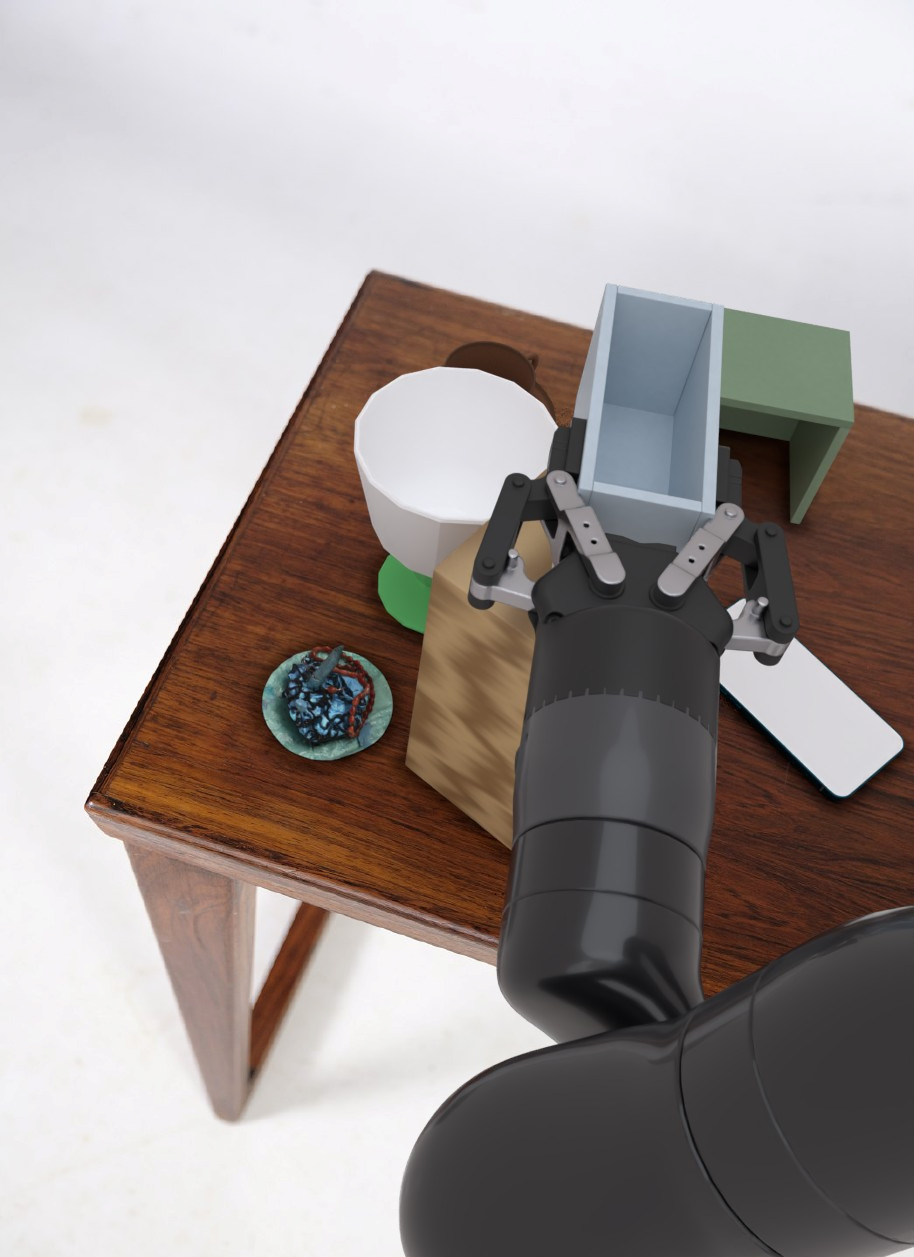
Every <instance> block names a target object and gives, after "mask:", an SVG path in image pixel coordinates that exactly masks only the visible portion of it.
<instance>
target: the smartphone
mask: <svg viewBox="0 0 914 1257" xmlns="http://www.w3.org/2000/svg"><path fill="white" fill-rule="evenodd" d="M745 604H746V599H745V597H741V598H739V599H737V600H736V601H734V602H733V603H732V604H730V605H729V606H727V607H725V608H726V610H727V611H728V612H729V614H730V616H731V618H732V620H735V619H738V617H739V615H740V613H741V611H742V609H743V608H744V606H745ZM719 694H721V695H722V696H723V697H724V698H725V699H726V700H727V701H728V702H729V703H730V704H731V705H732V706H733V707H734V708H735V710H737V711H738V712H739V713H740V714H741V715H742V716H743V717H744V718H745V719H746V720H747V721H748V722H750V724H751V725H752V726H753V727H754V728H755V729H757V731H759V733H760V734H762V735H763V737H765V738H766V739H767V740H768V741H769V742H770V744H772V745H773V747H775V748H776V749H777V751H779V752H780V753H781V754H782V755H783V756H784V757H785V758H786V759H787V760H788V761H789V762H790V763H791V764H792V765H793V766H794V767H795V768H796V769H797V771H799V772H800V773H801V774H803V776H805V778H806V779H808V781H809V782H810V783H811V784H813V786H815V788H817V789H818V790H819V791H820V792H821V794H823V795H824V796H825V797H826V798H827V799H828V800H830V801H831V802H834V803H843V802H846V801H848V800H849V799H850V798H852V796H854V794H855V793H857V792H858V791H859V790H860V789H861V788H863V786H865V785H866V784H867V783H869V782H870V781H871V780H872V779H873V778H874V777H875V776H876V775H878V774H879V773H880V772H881V771H882V770H883V769H884V768H886V767H887V766H888V765H889V764H891V763H892V762H893V761H894V760H895V759H896V758H897V757H899V756H900V754H901V753H902V752H903V751H904V750H905V746H906V745H905V740H904V737H903V736H902V735H901V734H900V733H899V731H897V729H895V728H894V727H893V725H891V724H890V723H889V722H887V720H885V718H883V717H882V716H881V714H879V713H878V712H877V711H876V710H875V709H874V708H873V707H871V705H870V704H868V703H867V702H866V701H865V700H864V699H863V698H862V697H861V696H860V695H859V694H858V693H856V692H855V691H854V690H853V688H851V686H849V685H848V684H847V683H846V682H845V681H843V679H842V678H840V677H839V676H838V675H837V674H836V673H835V671H832V670H831V669H830V668H829V667H828V666H827V665H826V664H825V663H824V662H823V661H822V660H821V659H820V658H818V657H817V655H815V654H814V652H813V651H811V649H809V648H808V647H807V646H806V645H805V644H804V643H803V642H801V641H800V640H799V639H798V638H797V637H796V636H795V637H794V638H793V640H792V642H791V643H790V645H789V647H788V648H787V650H786V652H785V653H784V655H783V657H782V658H781V660H780V661H779V663H778V664H776V665H774V666H765V665H763V664H761V663H759V662H758V661H757V660H756V659H755V657H754V654H753V652H750V651H738V650H726V649H725V651H724V653H723V655H722V656H721V657H720V685H719Z"/></svg>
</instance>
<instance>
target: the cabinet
mask: <svg viewBox="0 0 914 1257" xmlns="http://www.w3.org/2000/svg"><path fill="white" fill-rule="evenodd" d="M851 349H852V347H851V331H850V330H846V329H845V330H844V329H839V328H834V327H829V326H823V325H818V324H813V323H808V322H802V321H796V320H791V319H787V318H781V317H776V316H771V315H764V314H760V313H754V312H749V311H744V310H740V309H739V310H738V309H735V308H734V309H733V308H729V307H724V320H723V343H722V367H721V390H720V413H719V429H723V430H729V431H734V432H739V433H743V434H749V435H755V436H759V437H765V438H770V439H775V440H782V441H786V442H787V441H788V442H789V522H790V523H791V524H797V525H800V524H801V523H802V520H803V519H804V517H805V516H806V513H807V511H808V510H809V508H810V506H811V504H812V502H813V500H814V498H815V497H816V495H817V493H818V491H819V488H820V487H821V485H822V484H823V481H824V479H825V477H826V476H827V474H828V472H829V470H830V468H831V467H832V465H833V463H834V461H835V459H836V458H837V456H838V454H839V452H840V450H841V448H842V447H843V444H844V442H845V441H846V439H847V437H848V435H849V433H850V431H851V429H852V427H853V425H854V424H855V409H854V408H855V407H854V406H855V405H854V388H853V369H852V350H851Z"/></svg>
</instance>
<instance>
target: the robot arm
mask: <svg viewBox="0 0 914 1257" xmlns="http://www.w3.org/2000/svg"><path fill="white" fill-rule="evenodd" d="M586 424H587V419H582V418H577V417H574V416H572V417H571V420H570V424H569V426H564V425H559V426H558V428H557V430H556V431H555V432H554V436H553V440H552V444H551V448H550V452H549V457H548V463H547V470H546V475H545V476H544V477H542V478H539V479H533V480H530V478H529V477H528V476H526V475H524V474H522V473H512V474H510V475H508V476H507V477H506V479H505V481H504V484H503V486H502V489H501V491H500V494H499V497H498V499H497V502H496V505H495V507H494V510H493V513H492V515H491V518H490V521H489V523H488V526H487V529H486V531H485V534H484V536H483V539H482V542H481V544H480V547H479V550H478V552H477V555H476V558H475V560H474V565H473V570H472V575H471V580H470V585H469V591H468V596H467V599H468V602H469V604H470V605H471V606H472V607H474V608H476V609H479V610H486V609H489V608H491V607H492V606H493V605H494V603H495V601H496V602H499V603H502V604H506V605H509V606H512V607H515V608H519V609H522V610H525V611H528V617H529V619H530V621H531V623H532V625H533V628H534V631H535V645H534V652H533V659H532V665H531V672H530V679H529V686H528V693H527V700H526V706H525V713H524V720H523V727H522V734H521V741H520V746H519V747H518V750H517V751H516V755H515V766H514V768H515V782H514V792H513V840H512V850H510V857H509V865H508V871H507V878H506V886H505V893H504V898H503V905H502V906H503V907H502V914H501V918H500V926H499V934H498V944H497V950H496V969H495V970H496V980H497V985H498V988H499V991H500V994H501V995H502V997H503V998H504V999H505V1001H506V1002H507V1004H508V1005H509V1006H510V1007H511V1009H513V1010H514V1012H516V1013H517V1014H518V1015H519V1016H520V1017H522V1018H523V1019H524V1020H526V1022H528V1023H530V1024H531V1025H533V1026H534V1027H535V1028H537V1029H538V1030H540V1031H541V1032H542V1033H543V1034H544V1035H546V1036H547V1037H548V1038H550V1039H551V1040H552V1041H554V1043H556V1044H552V1045H547V1046H545V1047H541V1048H540V1047H539V1048H537V1049H534V1050H530V1051H527V1052H524V1053H521V1054H518V1055H515V1056H511V1057H509V1058H507V1059H504V1060H502V1061H499V1062H498V1063H496V1064H493V1065H491V1066H488V1067H487V1068H485V1069H483V1070H481V1071H480V1072H478V1073H477V1074H475V1075H474V1076H472V1077H471V1078H470V1079H469V1080H467V1081H466V1082H464V1083H462V1084H461V1085H460V1086H459V1087H458V1088H457V1089H455V1090H454V1091H453V1092H452V1093H451V1094H450V1095H449V1096H448V1097H447V1098H446V1099H445V1100H443V1102H442V1103H441V1104H440V1106H439V1107H438V1108H437V1109H436V1110H435V1111H434V1112H433V1114H432V1116H431V1117H430V1118H429V1120H428V1121H427V1123H426V1124H425V1126H424V1127H423V1128H422V1130H421V1132H420V1133H419V1135H418V1137H417V1139H416V1141H415V1143H414V1144H413V1146H412V1149H411V1151H410V1154H409V1156H408V1159H407V1161H406V1165H405V1168H404V1170H403V1173H402V1174H403V1175H402V1178H401V1182H400V1188H399V1197H398V1229H399V1237H400V1242H401V1246H402V1251H403V1253H404V1256H405V1257H889V1256H891V1255H895V1254H897V1253H898V1254H899V1253H900V1252H903V1251H907V1250H909V1249H912V1248H914V904H912V905H906V906H901V907H896V908H891V909H886V910H881V911H875V912H871V913H868V914H865V915H861V916H859V917H856V918H853V919H849V920H847V921H843V922H840V923H839V924H837V925H835V926H833V927H831V928H829V929H827V930H824V931H822V932H820V933H818V934H816V935H814V936H812V937H810V938H808V939H807V940H805V941H803V942H801V943H800V944H798V945H796V946H794V947H792V948H791V949H789V950H788V951H785V952H784V953H782V954H781V955H779V956H778V957H776V958H775V959H773V960H771V961H769V962H767V963H766V964H764V965H762V966H760V967H759V968H757V969H756V970H753V971H752V972H751V973H749V974H747V975H745V976H744V977H742V978H740V979H739V980H736V981H735V982H733V983H732V984H730V985H728V986H726V987H725V988H723V989H722V990H720V991H718V992H717V993H715V994H713V995H712V996H710V997H707V998H706V995H705V990H704V986H703V980H702V958H703V957H702V956H703V946H704V942H703V941H704V925H705V922H704V921H705V898H706V874H707V873H706V871H707V860H708V853H709V847H710V842H711V838H712V833H713V829H714V828H713V827H714V822H715V811H716V797H717V796H716V792H717V770H718V769H717V766H718V765H717V764H718V762H717V761H718V738H719V711H720V710H719V709H720V708H719V707H720V692H719V685H720V657H721V656H722V655H723V653H724V651H725V649H726V650H738V651H750V652H753V654H754V657H755V659H756V660H757V661H758V662H759V663H761V664H763V665H765V666H774V665H776V664H778V663H779V661H780V660H781V658H782V657H783V655H784V653H785V652H786V650H787V648H788V647H789V645H790V643H791V642H792V640H793V638H794V637H796V635H797V633H798V632H799V630H800V628H801V622H800V617H799V616H800V615H799V609H798V604H797V599H796V593H795V588H794V587H795V586H794V580H793V575H792V570H791V564H790V557H789V552H788V546H787V541H786V535H785V534H786V533H785V531H784V529H783V528H782V527H781V526H780V525H779V524H777V523H775V522H772V521H763V522H761V523H760V524H758V523H757V522H755V521H753V520H751V519H749V518H748V517H747V516H745V513H744V510H743V509H742V497H743V496H742V495H743V494H742V492H743V467H742V466H741V463H740V461H739V460H738V459H734V458H731V447H730V446H725V445H720V444H718V460H717V483H716V507H715V516H714V518H713V519H711V518H709V520H708V521H707V522H706V523H705V525H704V526H703V527H700V528H699V529H698V530H697V532H696V533H695V534H694V535H693V537H692V538H691V539H690V540H689V542H688V543H687V544H686V546H685V547H684V548H683V549H682V551H681V552H680V553H678V552H676V548H677V546H672V545H667V544H662V543H639V542H636V541H634V540H631V539H629V538H626V537H624V536H620V535H615V534H610V533H605V534H604V532H603V529H602V527H601V525H600V523H599V521H598V519H597V517H596V514H595V512H594V510H593V508H592V507H591V506H586V505H585V503H584V501H583V499H582V497H581V495H580V493H578V488H577V482H578V479H579V475H580V469H581V462H582V454H583V447H584V439H585V432H586ZM538 520H539V521H540V523H541V525H542V527H543V530H544V532H545V534H546V537H547V539H548V541H549V544H550V547H551V558H552V562H553V564H554V567H553V568H552V569H550V570H549V571H548V572H547V573H545V574H544V575H543V576H541V577H540V578H539V579H538V580H537V581H536V582H534V581H532V580H530V579H529V578H528V577H527V576H526V574H525V571H524V568H525V563H524V560H523V559H522V557H521V556H519V552H518V551H517V550H516V549H514V547H515V544H516V541H517V539H518V536H519V533H520V530H521V527H522V524H523V522H526V521H538ZM725 557H728V558H730V559H732V560H734V561H736V562H738V563H740V570H741V576H742V577H741V578H742V583H743V591H744V598H745V599H746V604H745V606H744V608H743V609H742V611H741V613H740V615H739V617H738V619H735V620H732V618H731V616H730V614H729V612H728V611H727V610H726V608H727V607H725V605H724V604H723V603H722V601H721V600H720V599H719V597H718V596H717V594H716V593H715V592H714V591H713V589H712V588H711V586H710V585H709V584H708V581H709V579H710V577H711V576H712V575H713V573H714V572H716V570H717V568H718V567H719V566H720V564H721V563H722V561H723V560H724V559H725Z"/></svg>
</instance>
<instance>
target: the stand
mask: <svg viewBox="0 0 914 1257" xmlns="http://www.w3.org/2000/svg"><path fill="white" fill-rule="evenodd" d="M546 470H547V469H545V470H544V471H543V472H542V473H541V474H540V475H539V476H538V477H536V478H535V479H539V478H542V477H544V476H545V475H546ZM489 521H490V519H489V520H488V521H487V522H486V523H485V524H484V525H483V526H481V527H480V528H479V529H478V530H477V531H476V532H475V533H474V534H472V535H471V536H470V537H469V538H468V539H467V540H466V541H465V542H463V543H462V544H461V545H460V546H459V547H458V548H457V549H456V550H454V551H453V552H452V553H451V554H450V555H449V556H448V557H447V558H446V559H444V560H443V561H442V562H441V563H440V564H439V565H438V566H437V567H435V568H434V571H433V578H432V585H431V591H430V598H429V605H428V612H427V619H426V625H425V632H424V634H423V639H422V645H421V646H422V647H421V654H420V659H419V666H418V674H417V679H416V680H417V681H416V686H415V687H416V688H415V693H414V701H413V706H412V707H413V708H412V715H411V721H410V728H409V734H408V740H407V741H408V742H407V749H406V755H405V761H404V765H405V767H407V768H408V769H409V770H411V772H413V773H414V774H415V775H417V776H418V777H419V778H421V779H422V780H423V781H424V782H426V783H427V784H428V785H429V786H431V787H432V788H433V789H434V790H435V791H437V793H439V794H440V795H442V796H443V797H444V798H446V799H447V800H448V801H449V802H450V803H452V804H453V806H455V807H457V809H458V810H460V811H462V813H464V814H465V815H467V816H468V817H469V818H470V819H472V820H473V821H474V822H475V823H476V824H477V825H479V826H481V828H483V829H484V830H485V831H487V832H488V833H489V834H490V835H491V836H493V837H494V838H495V839H497V840H498V841H499V842H500V843H502V844H503V845H504V846H505V847H506V848H508V849H509V850H510V851H511V850H512V840H513V792H514V782H515V768H514V766H515V755H516V751H517V750H518V747H519V746H520V741H521V734H522V727H523V720H524V713H525V706H526V700H527V693H528V686H529V679H530V672H531V665H532V659H533V652H534V645H535V631H534V628H533V625H532V623H531V621H530V619H529V617H528V611H525V610H522V609H519V608H515V607H512V606H509V605H506V604H502V603H499V602H496V601H495V603H494V605H493V606H492V607H491V608H489V609H486V610H479V609H476V608H474V607H472V606H471V605H470V604H469V602H468V599H467V596H468V591H469V585H470V580H471V575H472V570H473V565H474V560H475V558H476V555H477V552H478V550H479V547H480V544H481V542H482V539H483V536H484V534H485V531H486V529H487V526H488V523H489ZM514 549H516V550H517V551H518V552H519V556H521V557H522V559H523V560H524V563H525V568H524V571H525V574H526V576H527V577H528V578H529V579H530V580H532V581H534V582H536V581H537V580H538V579H539V578H540V577H541V576H543V575H544V574H545V573H547V572H548V571H549V570H550V569H552V563H553V562H552V558H551V547H550V544H549V541H548V539H547V537H546V534H545V532H544V530H543V527H542V525H541V523H540V521H539V520H538V521H526V522H523V524H522V527H521V530H520V533H519V536H518V539H517V541H516V544H515V547H514Z"/></svg>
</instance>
